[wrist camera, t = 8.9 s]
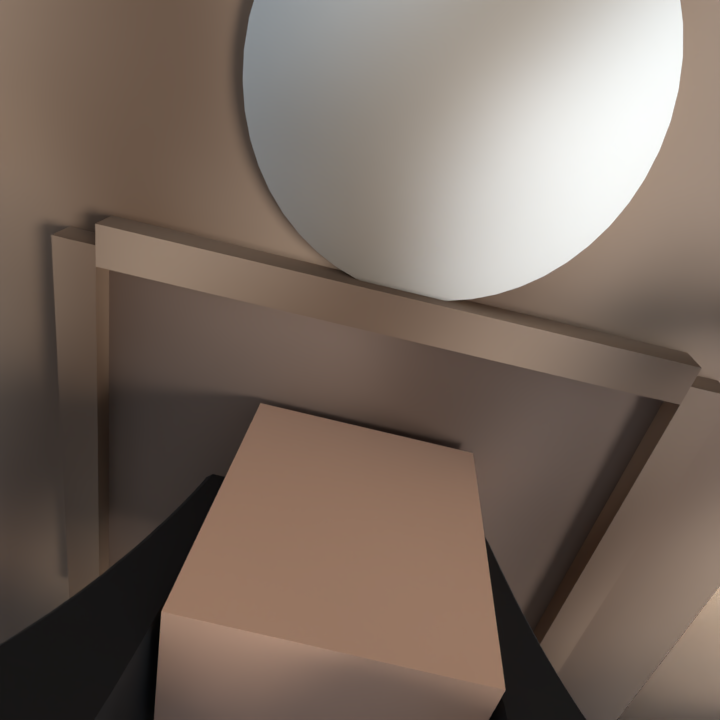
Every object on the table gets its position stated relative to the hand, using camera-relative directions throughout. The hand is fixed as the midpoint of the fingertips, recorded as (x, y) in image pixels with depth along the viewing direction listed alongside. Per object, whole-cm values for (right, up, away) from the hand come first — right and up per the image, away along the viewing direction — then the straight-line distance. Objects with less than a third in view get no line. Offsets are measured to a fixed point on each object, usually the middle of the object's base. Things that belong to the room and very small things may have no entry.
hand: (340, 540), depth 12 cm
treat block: (0, 0, +1) cm, 1 cm away
